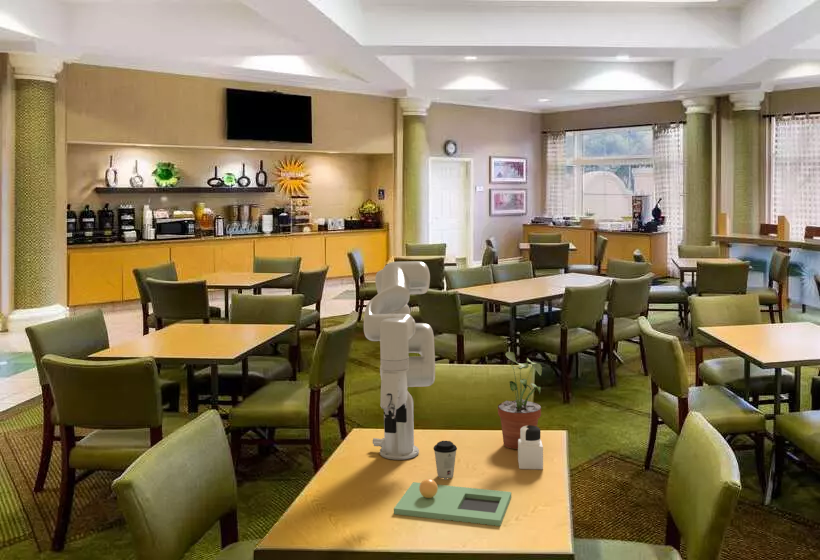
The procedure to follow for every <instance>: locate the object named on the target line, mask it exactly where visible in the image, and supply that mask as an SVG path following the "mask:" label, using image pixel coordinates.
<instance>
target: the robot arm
mask: <svg viewBox="0 0 820 560" xmlns="http://www.w3.org/2000/svg"><path fill="white" fill-rule="evenodd" d="M374 281H375V282H374V283H375V288H376V291H377V294H376V295H375V296H374V297H373V298H371V299H370V300H369V302H368V303H367V304H366V305H365V309H364V317H363V318H364V319H363V333H364V336H365V338H366V339H367V340H369V341H371V342H379V344H380V345H379V346H380V348H379V349H380V355H379V356H380V367H379V373H380V374H379V375H380V380H381V381H380V407H381V409H383V427H384V429H383V431H384V434H383V435H384V437H382V438H377V437H376V438H375V437H373V438H372V444H373V446H374V447H380V449H379V454H380V456H381V457H382V458H385V459H387V460H395V461H401V460H403V461H404V460H409V459H412V458H416V457H417V456H418V455H419V453H420V449H419V447H418V446H416V445H415V435H414V433H415V429H414V421H415V420H414V418H415V417H414V398H413V396H412V395H411V394H410V392H409V391H408V388H414V387H431V386H432V385H433V384H434V383H435V379H436V356H435V355H436V353H435V336H434V330H433V328H432V326H431V325H430V324H428V323H424V322H416V321H415V319H414V318H413V316H412V315H411V309H410V306H409V305H408V303H409V301H410V297H411V296H410V295H423V294H426V293H427V292H428V291H429V288H430V282H431V274H430V269H429V266H428V265H427V263H425V262H423V261H421V260H420V261H415V260H413V261H412V260H411V261H393V262H389V263H387V264H386V265H384V266H383V268H382V269H381V270H379V271H377V272H376V274H375V279H374ZM410 353H411V354H412V353H413V354H414V353H415V354H419V355H420V356H419V355H418V356H409V354H410Z"/></svg>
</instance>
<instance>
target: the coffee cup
mask: <svg viewBox="0 0 820 560" xmlns="http://www.w3.org/2000/svg"><path fill="white" fill-rule="evenodd" d="M457 450H458V447H457V445H456V444H454V442H452V441H450V440H441V441H439V442H437V443H436V444H435V445H434V446H433V452H434V456H435V457H434V458H435V466H436V473H437V478H438V477H440V478H444V479H443V480H448V479H447V478H451V479H453V478H454V472H455V464H456V463H455V462H456V455H457ZM452 477H453V478H452ZM440 478H439V479H440Z"/></svg>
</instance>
